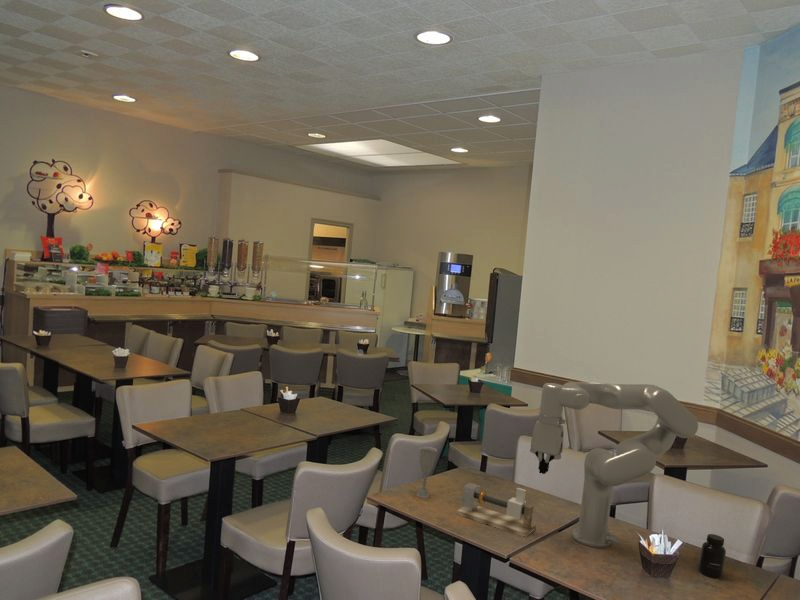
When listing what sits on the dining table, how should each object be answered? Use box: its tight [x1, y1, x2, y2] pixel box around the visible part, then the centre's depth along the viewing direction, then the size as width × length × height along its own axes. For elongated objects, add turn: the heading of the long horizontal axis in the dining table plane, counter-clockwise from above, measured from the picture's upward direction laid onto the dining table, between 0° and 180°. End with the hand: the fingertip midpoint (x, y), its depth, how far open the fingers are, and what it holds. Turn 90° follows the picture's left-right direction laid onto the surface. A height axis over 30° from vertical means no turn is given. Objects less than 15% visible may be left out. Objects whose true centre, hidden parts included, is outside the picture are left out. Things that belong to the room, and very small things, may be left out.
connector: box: [460, 482, 487, 512], centre depth 229 cm, size 7×5×8 cm
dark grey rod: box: [475, 492, 525, 513], centre depth 225 cm, size 21×2×2 cm, turn 58°
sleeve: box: [505, 487, 527, 520], centre depth 221 cm, size 5×5×10 cm
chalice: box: [416, 445, 438, 499], centre depth 242 cm, size 7×7×18 cm
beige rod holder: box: [456, 504, 537, 538], centre depth 225 cm, size 26×10×9 cm, turn 58°
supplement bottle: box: [698, 533, 727, 579], centre depth 201 cm, size 7×7×12 cm
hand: (542, 472), depth 216 cm, fingers closed
